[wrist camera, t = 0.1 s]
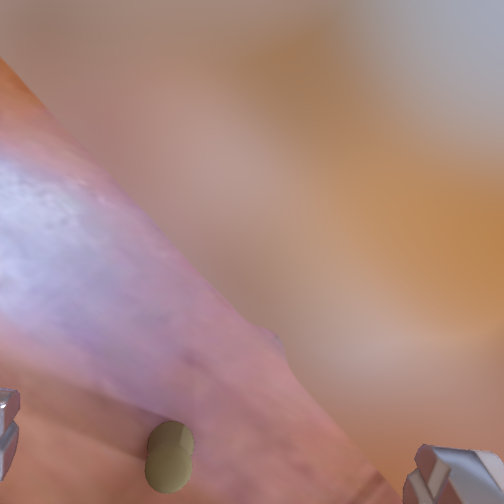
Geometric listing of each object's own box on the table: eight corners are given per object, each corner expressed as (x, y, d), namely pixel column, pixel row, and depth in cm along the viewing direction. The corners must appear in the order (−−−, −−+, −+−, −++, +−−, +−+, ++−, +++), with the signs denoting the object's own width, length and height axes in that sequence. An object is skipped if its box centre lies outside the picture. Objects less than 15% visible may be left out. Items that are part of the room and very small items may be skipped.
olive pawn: (167, 480, 60) (163, 515, 49) (137, 443, 60) (127, 470, 49) (203, 447, 61) (208, 474, 50) (174, 411, 61) (172, 430, 50)
